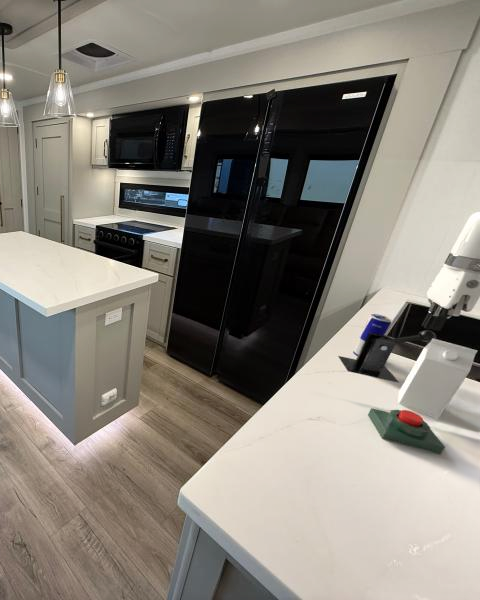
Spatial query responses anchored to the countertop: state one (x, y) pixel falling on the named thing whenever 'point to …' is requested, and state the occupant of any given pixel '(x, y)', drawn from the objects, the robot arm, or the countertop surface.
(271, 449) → the countertop surface
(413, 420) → the button
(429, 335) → the lever
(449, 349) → the milk carton
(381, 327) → the beverage can
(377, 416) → the button box
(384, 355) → the bracket
